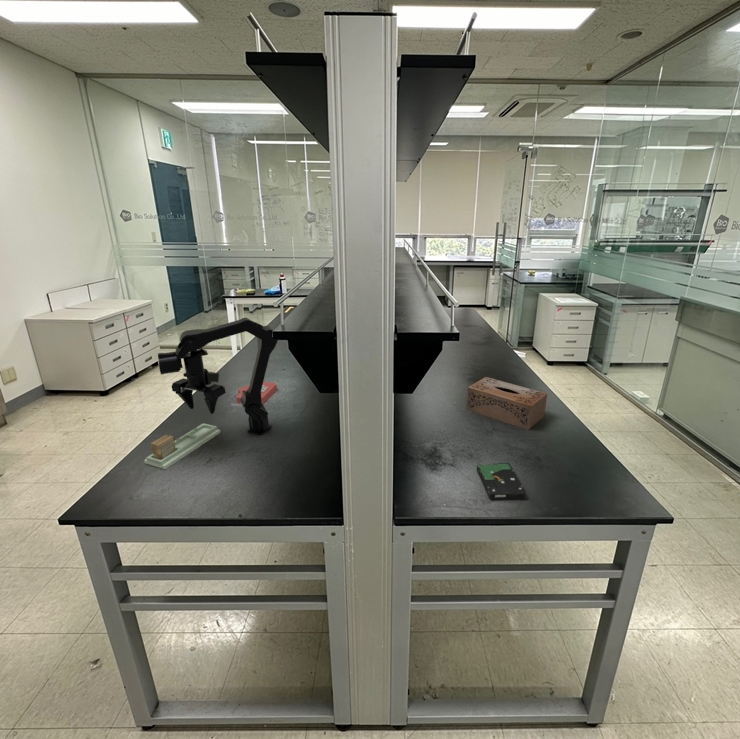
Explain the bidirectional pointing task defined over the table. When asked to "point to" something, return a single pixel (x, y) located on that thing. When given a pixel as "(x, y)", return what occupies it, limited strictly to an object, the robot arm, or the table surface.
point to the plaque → (265, 391)
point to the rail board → (185, 445)
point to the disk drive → (500, 481)
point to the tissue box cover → (506, 402)
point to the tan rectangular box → (163, 447)
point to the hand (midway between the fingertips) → (202, 411)
